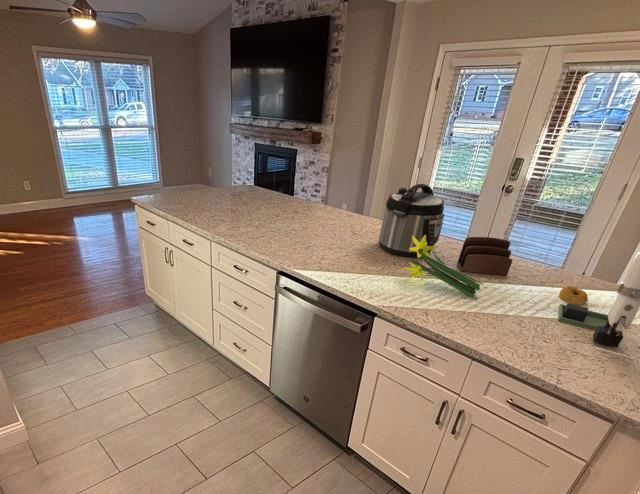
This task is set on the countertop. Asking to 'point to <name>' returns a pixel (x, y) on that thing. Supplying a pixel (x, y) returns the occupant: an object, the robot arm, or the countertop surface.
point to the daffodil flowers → (417, 270)
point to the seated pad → (575, 312)
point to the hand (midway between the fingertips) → (605, 340)
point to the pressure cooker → (411, 220)
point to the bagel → (573, 295)
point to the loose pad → (601, 332)
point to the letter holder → (485, 256)
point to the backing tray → (590, 321)
